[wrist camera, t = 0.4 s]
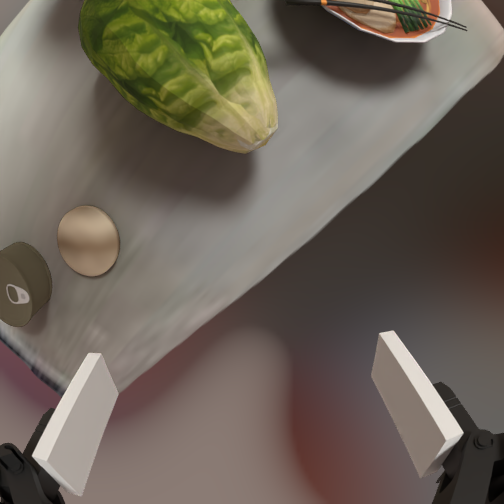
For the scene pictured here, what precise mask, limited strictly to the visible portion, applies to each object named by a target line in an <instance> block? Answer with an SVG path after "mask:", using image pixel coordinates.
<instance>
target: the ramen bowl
mask: <svg viewBox="0 0 504 504" xmlns="http://www.w3.org/2000/svg"><path fill="white" fill-rule="evenodd" d="M285 2H286V5H321V6H322V7H323V8H324V9H325V10H326V11H328V12H329V13H331V14H333V15H334V16H336V17H338V18H339V19H341V20H343V21H344V22H346V23H348V24H349V25H351V26H352V27H354V28H355V29H357V30H360V31H363V32H366V33H369V34H372V35H375V36H378V37H381V38H383V39H386V40H389V41H392V42H396V43H399V42H412V43H426V42H428V41H429V40H431V39H433V38H435V37H437V36H439V35H441V34H443V33H445V30H446V28H447V26H448V25H449V26H452V27H455V28H459V29H462V30H465V29H463V28H460V27H457V26H454V25H451V24H448V23H449V22H452V23H455V24H457V25H460V26H463V25H461V24H459V23H456V22H454V21H451V20H450V19H451V16H452V5H451V0H285ZM463 27H465V28H467V27H466V26H463ZM465 31H467V30H465Z"/></svg>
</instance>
